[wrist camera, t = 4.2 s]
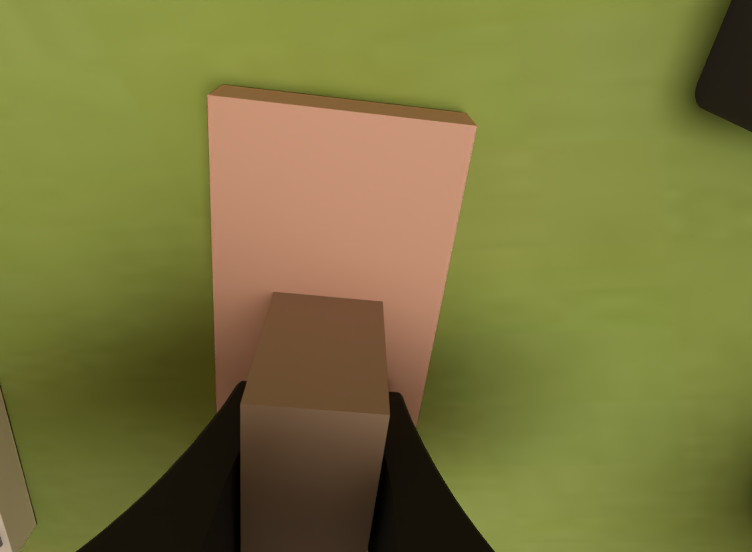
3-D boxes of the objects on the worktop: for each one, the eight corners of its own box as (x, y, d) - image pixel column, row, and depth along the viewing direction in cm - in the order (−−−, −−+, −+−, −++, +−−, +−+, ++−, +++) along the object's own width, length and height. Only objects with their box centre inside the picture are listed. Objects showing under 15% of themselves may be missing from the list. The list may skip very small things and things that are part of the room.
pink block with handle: (384, 546, 18) (390, 721, 14) (229, 537, 17) (186, 715, 13) (466, 112, 11) (528, 188, 7) (222, 84, 11) (133, 145, 7)
